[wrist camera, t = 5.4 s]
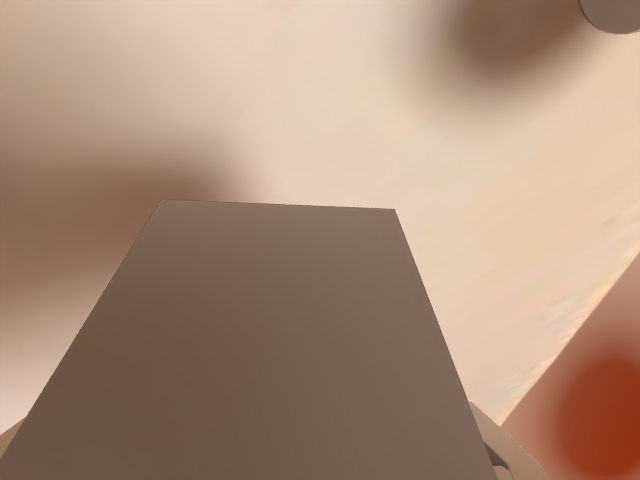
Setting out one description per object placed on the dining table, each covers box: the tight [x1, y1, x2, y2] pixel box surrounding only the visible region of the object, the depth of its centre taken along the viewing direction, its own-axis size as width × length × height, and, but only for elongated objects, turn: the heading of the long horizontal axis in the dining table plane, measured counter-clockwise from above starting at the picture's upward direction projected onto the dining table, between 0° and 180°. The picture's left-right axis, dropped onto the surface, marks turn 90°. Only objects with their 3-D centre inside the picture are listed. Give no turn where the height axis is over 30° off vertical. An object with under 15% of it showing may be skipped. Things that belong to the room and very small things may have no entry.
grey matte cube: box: [0, 199, 498, 480], centre depth 11 cm, size 7×7×9 cm
